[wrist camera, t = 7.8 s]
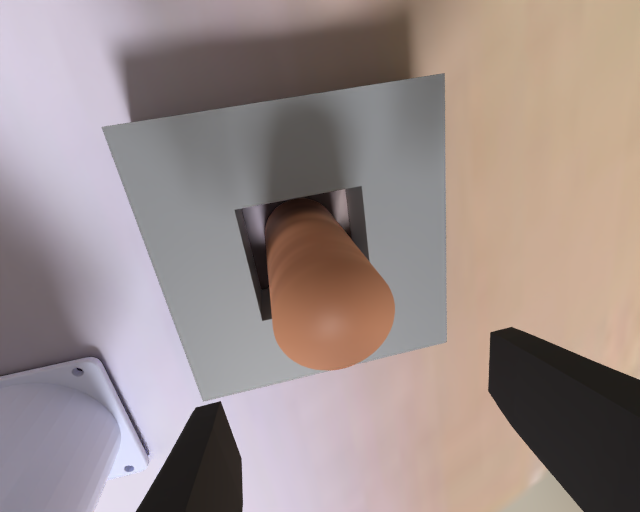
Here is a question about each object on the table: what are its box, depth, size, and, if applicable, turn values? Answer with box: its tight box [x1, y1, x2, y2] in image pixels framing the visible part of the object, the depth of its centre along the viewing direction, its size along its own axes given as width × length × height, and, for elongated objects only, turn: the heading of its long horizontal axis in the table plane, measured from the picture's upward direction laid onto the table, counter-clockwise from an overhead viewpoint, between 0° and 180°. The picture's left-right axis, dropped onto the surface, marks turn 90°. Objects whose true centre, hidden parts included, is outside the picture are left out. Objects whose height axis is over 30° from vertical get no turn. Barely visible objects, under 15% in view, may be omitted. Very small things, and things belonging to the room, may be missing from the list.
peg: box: [265, 198, 395, 370], centre depth 13 cm, size 4×4×8 cm
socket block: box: [102, 73, 447, 401], centre depth 16 cm, size 12×12×3 cm
